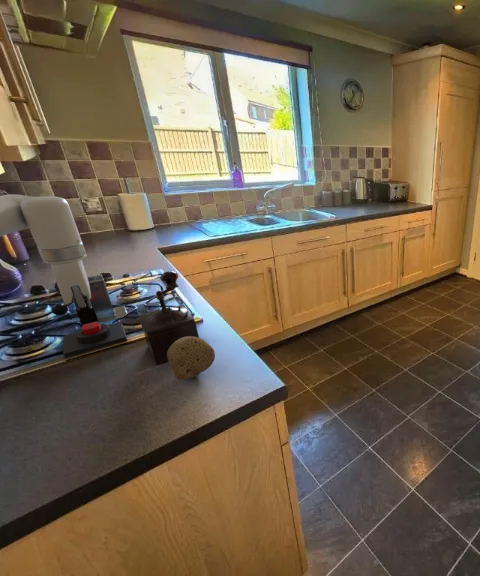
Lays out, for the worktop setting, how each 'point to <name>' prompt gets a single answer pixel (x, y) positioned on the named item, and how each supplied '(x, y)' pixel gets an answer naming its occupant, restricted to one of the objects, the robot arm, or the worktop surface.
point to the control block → (93, 340)
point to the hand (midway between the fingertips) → (89, 321)
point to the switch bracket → (103, 301)
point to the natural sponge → (190, 357)
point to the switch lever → (62, 306)
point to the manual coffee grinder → (167, 323)
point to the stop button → (91, 328)
